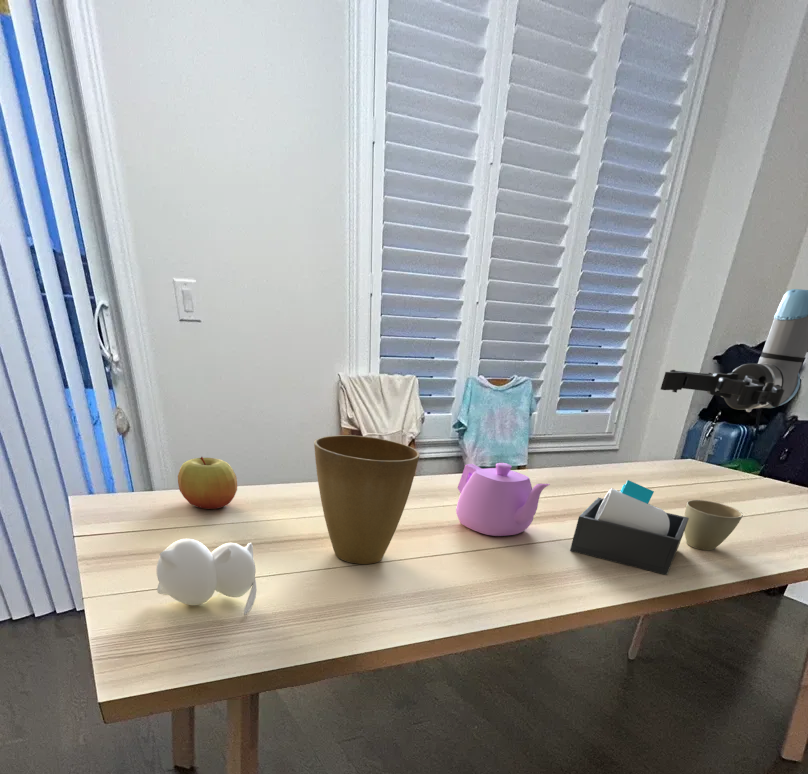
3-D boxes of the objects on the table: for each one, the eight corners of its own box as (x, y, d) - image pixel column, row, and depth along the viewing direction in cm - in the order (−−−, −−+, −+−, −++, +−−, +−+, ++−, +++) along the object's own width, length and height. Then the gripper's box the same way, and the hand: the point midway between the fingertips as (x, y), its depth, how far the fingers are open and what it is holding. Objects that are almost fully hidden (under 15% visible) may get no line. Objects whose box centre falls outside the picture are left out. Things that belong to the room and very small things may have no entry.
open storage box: (677, 549, 117) (689, 517, 114) (666, 575, 105) (679, 540, 102) (589, 528, 122) (598, 497, 119) (569, 550, 110) (578, 516, 107)
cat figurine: (253, 520, 78) (151, 523, 72) (277, 592, 75) (172, 601, 69) (242, 563, 85) (148, 569, 80) (263, 631, 82) (167, 641, 77)
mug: (687, 500, 104) (620, 471, 105) (663, 552, 105) (596, 524, 106) (664, 516, 116) (604, 490, 116) (642, 562, 117) (582, 537, 117)
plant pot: (373, 583, 90) (382, 465, 81) (291, 554, 95) (291, 441, 86) (425, 556, 101) (438, 450, 92) (349, 532, 106) (354, 429, 97)
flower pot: (669, 546, 119) (683, 507, 115) (677, 533, 126) (690, 496, 122) (725, 559, 115) (741, 520, 111) (729, 545, 123) (744, 508, 119)
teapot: (510, 551, 107) (524, 484, 100) (432, 515, 119) (440, 453, 112) (559, 540, 114) (575, 477, 108) (481, 507, 126) (491, 449, 120)
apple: (174, 497, 112) (169, 449, 107) (229, 495, 116) (227, 449, 111) (187, 515, 105) (182, 465, 100) (245, 512, 109) (243, 463, 105)
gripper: (812, 422, 113) (768, 428, 100) (682, 396, 127) (629, 399, 114) (832, 375, 109) (789, 374, 96) (695, 354, 123) (642, 351, 110)
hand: (702, 388), depth 105 cm, fingers open, 13 cm apart
